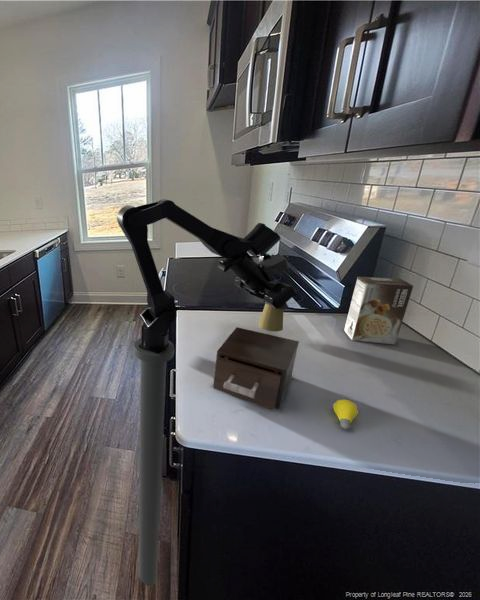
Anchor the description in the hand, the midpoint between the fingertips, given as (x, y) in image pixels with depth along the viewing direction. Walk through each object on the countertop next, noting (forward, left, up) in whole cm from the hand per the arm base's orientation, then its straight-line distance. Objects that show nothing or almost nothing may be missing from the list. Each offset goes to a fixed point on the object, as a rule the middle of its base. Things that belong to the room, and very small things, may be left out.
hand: (279, 305), depth 87 cm
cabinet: (+1, -28, -9) cm, 29 cm away
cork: (-1, -1, -7) cm, 7 cm away
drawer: (+1, -32, -8) cm, 33 cm away
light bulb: (+17, -31, -9) cm, 36 cm away
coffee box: (+20, +10, -9) cm, 24 cm away
